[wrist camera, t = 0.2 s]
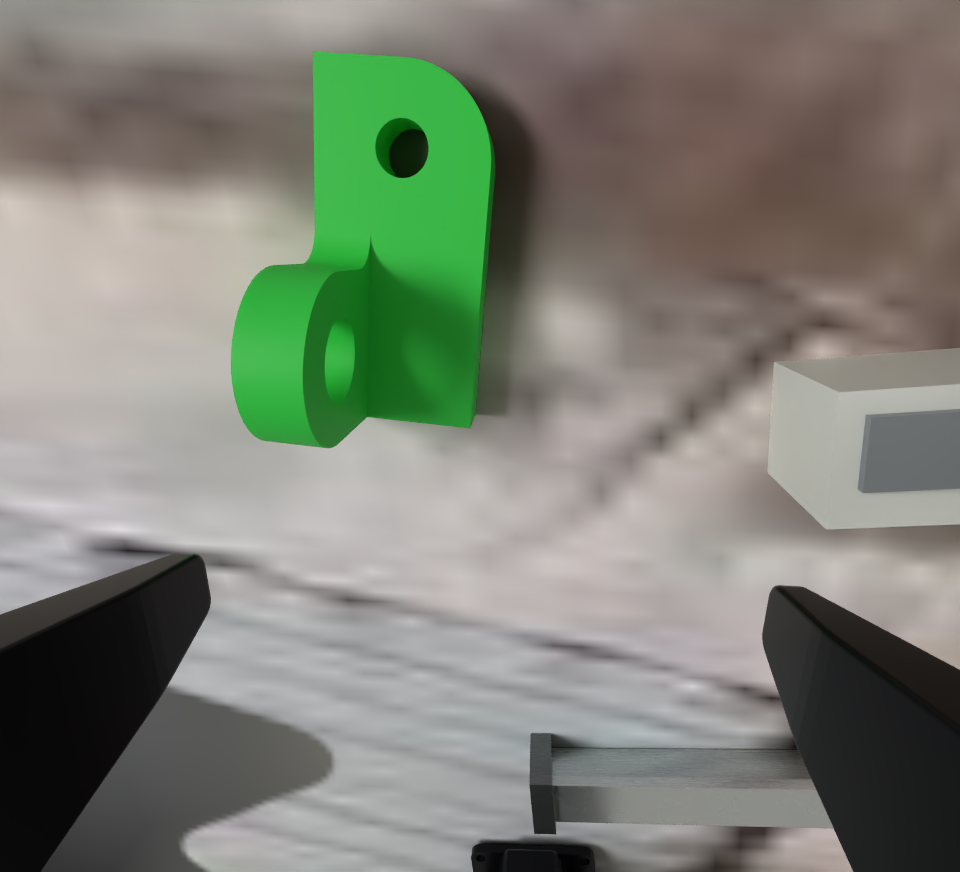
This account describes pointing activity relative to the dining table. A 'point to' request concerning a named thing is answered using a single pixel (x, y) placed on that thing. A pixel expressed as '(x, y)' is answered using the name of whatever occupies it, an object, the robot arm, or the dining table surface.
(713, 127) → the dining table surface
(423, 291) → the mechanical part
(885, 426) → the block
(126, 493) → the dining table surface
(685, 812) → the rail
